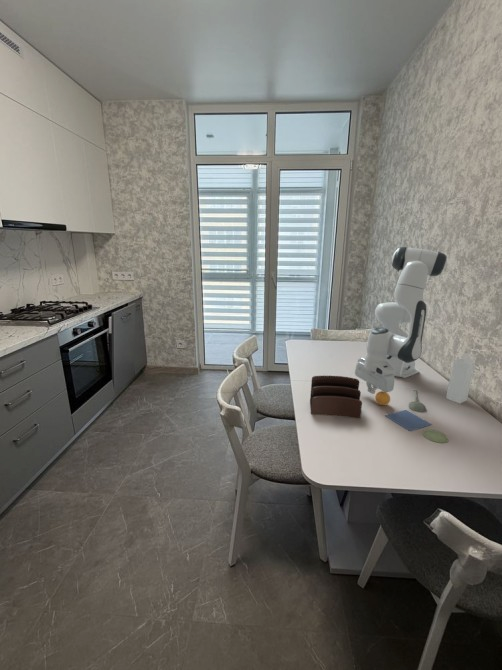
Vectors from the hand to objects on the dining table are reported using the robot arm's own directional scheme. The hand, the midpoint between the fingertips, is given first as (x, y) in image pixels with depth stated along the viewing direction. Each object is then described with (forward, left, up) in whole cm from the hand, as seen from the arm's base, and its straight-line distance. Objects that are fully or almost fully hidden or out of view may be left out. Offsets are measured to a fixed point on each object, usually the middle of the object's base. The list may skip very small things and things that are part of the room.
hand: (371, 392), depth 140 cm
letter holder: (+22, +2, -3) cm, 23 cm away
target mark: (0, +20, -3) cm, 20 cm away
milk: (-36, +16, -3) cm, 40 cm away
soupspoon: (-18, +10, -4) cm, 21 cm away
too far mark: (0, +32, -3) cm, 32 cm away
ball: (0, +6, 0) cm, 6 cm away
